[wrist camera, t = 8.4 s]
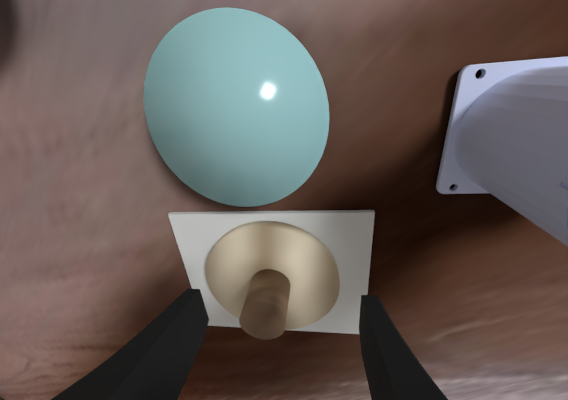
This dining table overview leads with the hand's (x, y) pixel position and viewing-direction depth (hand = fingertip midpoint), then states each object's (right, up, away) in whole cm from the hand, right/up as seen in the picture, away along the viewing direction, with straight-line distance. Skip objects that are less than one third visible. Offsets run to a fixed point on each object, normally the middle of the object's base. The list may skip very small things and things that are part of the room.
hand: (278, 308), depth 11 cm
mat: (-1, -2, +12) cm, 13 cm away
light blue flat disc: (-2, +11, +6) cm, 12 cm away
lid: (-1, -2, +12) cm, 12 cm away
